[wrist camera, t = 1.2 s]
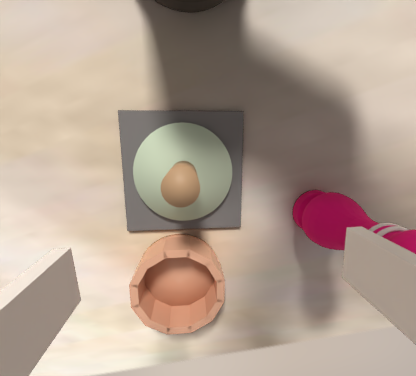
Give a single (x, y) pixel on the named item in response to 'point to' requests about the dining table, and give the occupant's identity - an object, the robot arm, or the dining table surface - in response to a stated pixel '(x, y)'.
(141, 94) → the dining table surface
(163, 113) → the mat
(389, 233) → the pepper mill
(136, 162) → the plunger
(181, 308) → the bowl
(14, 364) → the robot arm
